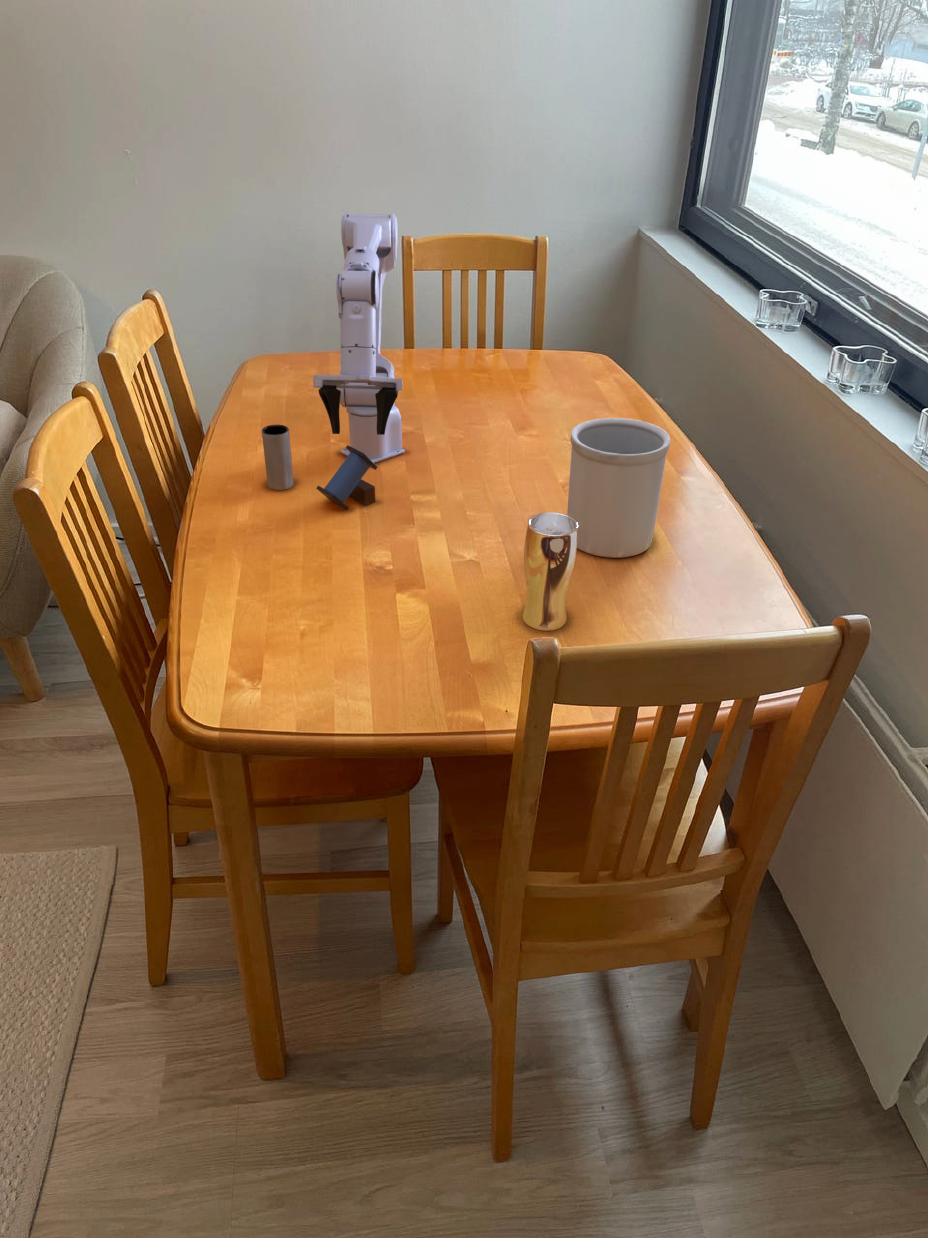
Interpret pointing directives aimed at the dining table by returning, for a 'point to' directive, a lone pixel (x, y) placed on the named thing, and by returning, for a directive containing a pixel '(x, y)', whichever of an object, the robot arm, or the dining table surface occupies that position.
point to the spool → (347, 477)
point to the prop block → (363, 493)
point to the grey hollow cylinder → (278, 457)
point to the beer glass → (549, 568)
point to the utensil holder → (616, 484)
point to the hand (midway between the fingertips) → (358, 434)
